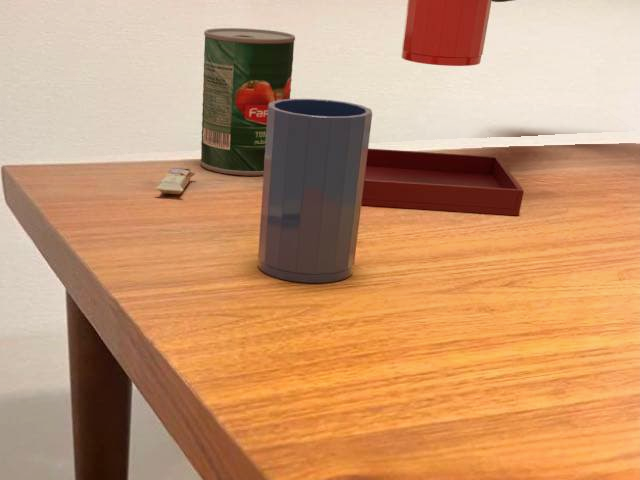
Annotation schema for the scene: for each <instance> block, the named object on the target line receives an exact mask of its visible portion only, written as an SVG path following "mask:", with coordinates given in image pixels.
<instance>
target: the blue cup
mask: <svg viewBox="0 0 640 480" xmlns="http://www.w3.org/2000/svg"><path fill="white" fill-rule="evenodd" d="M372 119H373V111H372V109H371V108H369V107H366V106H364V105H362V104H359V103H353V102H348V101H341V100H335V99H334V100H333V99H321V98H290V99H285V100H277V101H274V102H270V103H269V105H268V114H267V129H266V145H265V160H264V175H262V176H263V177H262V178H263V179H262V192H261V193H262V194H261V205H260V206H261V207H260V220H259V221H260V223H259V224H260V225H259V236H258V237H259V238H258V253H257V259H258V260H257V266H258V269H259V270H261V271H262V272H263V273H265V274H266V275H268V276H270V277H273V278H276V279H280V280H283V281H289V282H294V283H303V284H324V283H326V284H327V283H333V282H339V281H343V280H345V279H347V278H349V277H350V276H351V275H352V274H353V272H354V265H355V261H356V253H357V243H358V237H359V236H358V235H359V228H360V227H359V226H360V220H361V210H362V205H361V203H362V195H363V187H364V179H365V170H366V162H367V154H368V148H369V145H370V137H371V128H372Z"/></svg>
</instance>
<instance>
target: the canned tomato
mask: <svg viewBox="0 0 640 480" xmlns="http://www.w3.org/2000/svg"><path fill="white" fill-rule="evenodd" d="M203 35H204V52H203V74H202V75H203V76H202V77H203V84H202V86H203V87H202V113H201V117H202V121H201V142H200V143H201V148H200V149H201V151H200V154H201V156H200V161H199V162H200V163H199V164H200V165H201V166H202V167H203V168H204V169H207V170H209V171H212V172H216V173H220V174H226V175H233V176H250V177H251V176H252V177H254V176H255V177H256V176H257V177H258V176H263V175H264V160H265V145H266V129H267V114H268V105H269V103H270V102H274V101H277V100H285V99H291V92H292V75H293V62H294V48H295V41H296V36H295V35H294V34H293V33H288V32H284V31H278V30H270V29H269V30H268V29H259V28H241V27H239V28H238V27H220V28H219V27H218V28H217V27H216V28H208V29H205V30H204V32H203Z"/></svg>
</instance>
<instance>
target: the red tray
mask: <svg viewBox="0 0 640 480" xmlns="http://www.w3.org/2000/svg"><path fill="white" fill-rule="evenodd" d="M524 193H525V190H524V189H523V188H522V186H521V185H520V184H519V182H518V181H517V180H516V177H514V175H513V174H512V172H510V170H509V169H508V167H507V166H506V165H505V163H504V162H503V161H502V160H501V158H500V156H492V155H475V154H462V153H461V154H460V153H444V152H432V151H431V152H429V151H414V150H399V149H385V148H369V147H368V154H367V162H366V170H365V179H364V187H363V195H362V203H361V206H369V207H383V208H395V209H396V208H397V209H410V210H411V209H413V210H426V211H443V212H455V213H473V214H487V215H500V216H501V215H502V216H503V215H505V216H516V217H517V216H520V212H521V207H522V202H523V198H524Z"/></svg>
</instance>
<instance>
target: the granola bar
mask: <svg viewBox="0 0 640 480" xmlns="http://www.w3.org/2000/svg"><path fill="white" fill-rule="evenodd" d="M194 176H196V173H195V172H192V170H191V169H189V168H184V167H171V169H170V170H169V171H168V172H167V173H166V174H165V176H164V177H163V178H162V180H161V181H160V183H159V184H158V185H157V186H155V188H154V190H157V191H160V192H161V194H169V195H180V194H181V193H182V192H184V190H185V188H186V186H187V185H188V184H189V182H190V180H191V178H192V177H194Z"/></svg>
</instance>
